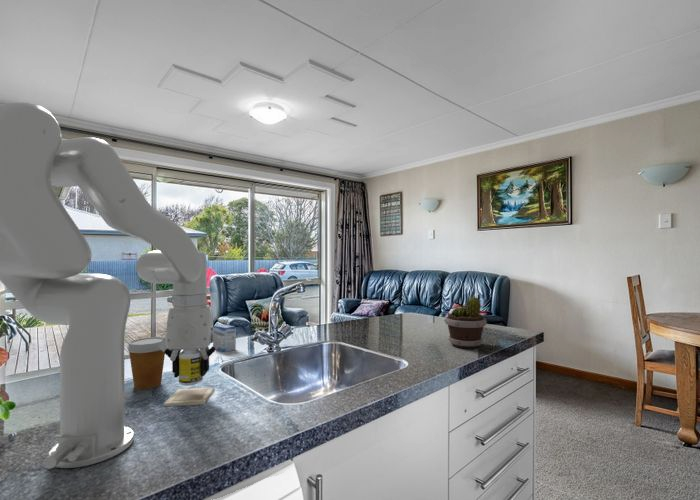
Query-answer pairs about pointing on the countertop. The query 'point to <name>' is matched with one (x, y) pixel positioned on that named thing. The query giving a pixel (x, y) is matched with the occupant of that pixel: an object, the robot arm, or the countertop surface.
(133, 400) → the countertop surface
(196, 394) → the coaster
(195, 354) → the supplement bottle
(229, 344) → the medicine box
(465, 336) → the flowerpot
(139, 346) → the disposable coffee cup
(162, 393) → the countertop surface
